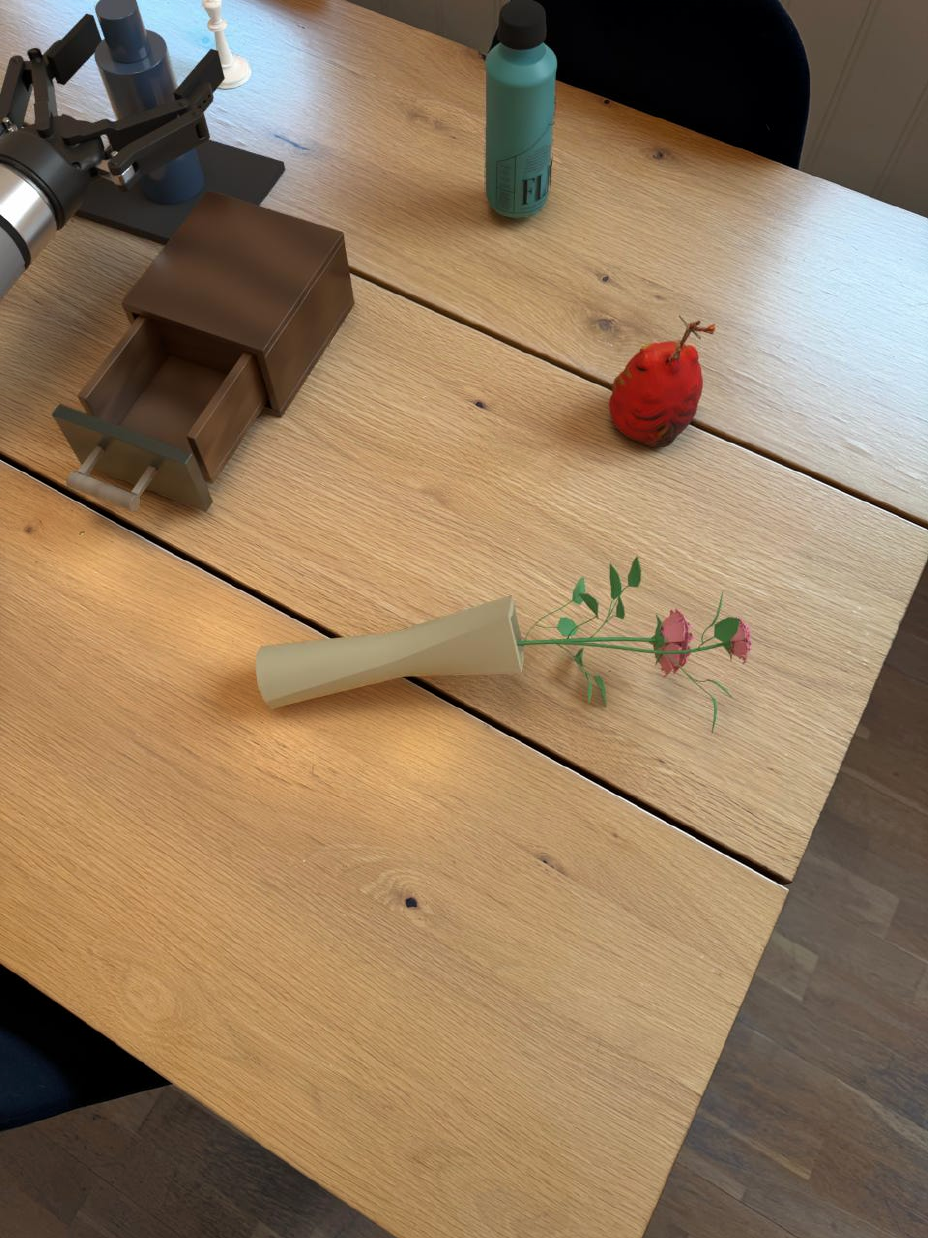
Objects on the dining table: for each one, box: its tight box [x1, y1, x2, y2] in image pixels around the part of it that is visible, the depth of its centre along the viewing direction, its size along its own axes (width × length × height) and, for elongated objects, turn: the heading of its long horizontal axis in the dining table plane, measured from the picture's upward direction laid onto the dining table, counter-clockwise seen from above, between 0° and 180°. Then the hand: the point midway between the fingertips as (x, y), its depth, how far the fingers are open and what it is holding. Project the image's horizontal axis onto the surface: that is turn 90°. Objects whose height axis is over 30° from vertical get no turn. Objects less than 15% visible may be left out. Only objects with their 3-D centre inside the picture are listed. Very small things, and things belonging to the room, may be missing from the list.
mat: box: [73, 139, 286, 246], centre depth 103 cm, size 18×14×1 cm
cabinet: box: [120, 190, 355, 418], centre depth 91 cm, size 15×14×9 cm
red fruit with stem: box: [608, 314, 716, 449], centre depth 83 cm, size 8×7×15 cm
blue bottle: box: [93, 0, 205, 205], centre depth 94 cm, size 6×6×18 cm
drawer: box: [51, 315, 269, 513], centre depth 85 cm, size 18×12×7 cm
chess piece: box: [201, 0, 252, 90], centre depth 107 cm, size 5×5×10 cm
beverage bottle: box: [483, 0, 558, 219], centre depth 93 cm, size 6×7×20 cm
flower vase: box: [255, 555, 753, 735], centre depth 75 cm, size 12×12×35 cm
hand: (155, 45), depth 93 cm, fingers open, 12 cm apart
